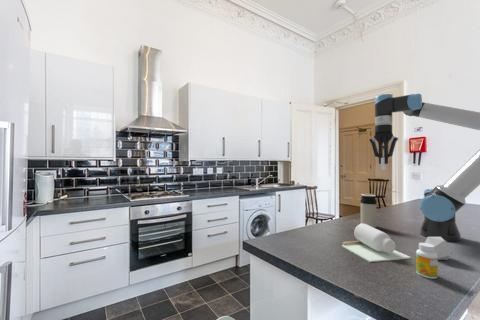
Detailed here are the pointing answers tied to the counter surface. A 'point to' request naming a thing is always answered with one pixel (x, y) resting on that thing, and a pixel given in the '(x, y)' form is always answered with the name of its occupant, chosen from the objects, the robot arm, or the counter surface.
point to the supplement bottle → (427, 261)
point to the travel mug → (369, 210)
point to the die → (440, 247)
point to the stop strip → (351, 242)
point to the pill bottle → (374, 238)
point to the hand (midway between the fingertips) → (383, 170)
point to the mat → (374, 253)
